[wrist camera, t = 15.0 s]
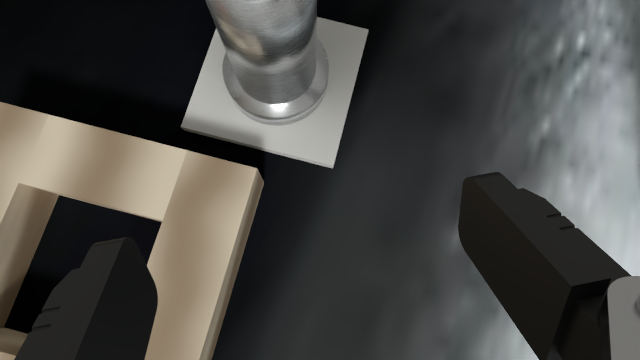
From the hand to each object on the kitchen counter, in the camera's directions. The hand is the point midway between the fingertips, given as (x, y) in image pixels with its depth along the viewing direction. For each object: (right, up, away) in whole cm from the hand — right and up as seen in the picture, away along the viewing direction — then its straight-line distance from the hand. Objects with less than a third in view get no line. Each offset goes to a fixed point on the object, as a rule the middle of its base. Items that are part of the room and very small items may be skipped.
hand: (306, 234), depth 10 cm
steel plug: (-2, +8, +16) cm, 18 cm away
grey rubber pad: (-2, +8, +17) cm, 19 cm away
